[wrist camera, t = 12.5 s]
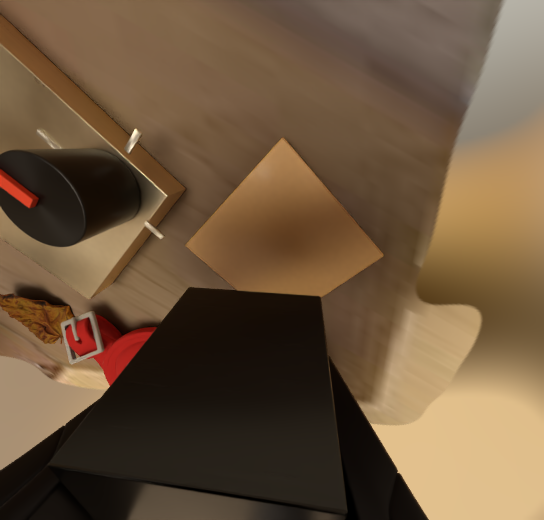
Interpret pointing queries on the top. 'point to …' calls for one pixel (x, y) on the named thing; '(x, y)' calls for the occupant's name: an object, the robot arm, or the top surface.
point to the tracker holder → (102, 342)
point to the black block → (216, 418)
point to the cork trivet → (283, 232)
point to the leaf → (37, 316)
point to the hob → (74, 135)
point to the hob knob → (66, 193)
